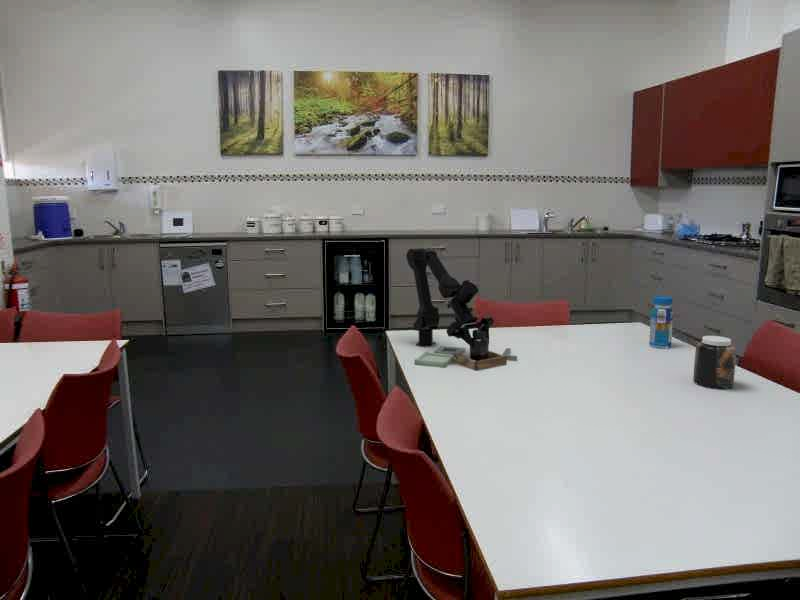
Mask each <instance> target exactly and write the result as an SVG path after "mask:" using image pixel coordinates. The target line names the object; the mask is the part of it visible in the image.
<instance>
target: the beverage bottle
mask: <svg viewBox="0 0 800 600" xmlns="http://www.w3.org/2000/svg"><path fill="white" fill-rule="evenodd" d="M653 305H654V307H653V308H652V310H651V311H650V314H651V317H650V319H649V320H650V321H649V322H650V325H649V327H650V329H649V342H648V344H649V346H650V347H651V346H653V347H652V348H654V347H662V348H661V349H667V348H666V347H670V348H671V347H672V336H673V325H674V319H673V316H674V311H673V309H672V308H671V307H672V305H673V297H672V296H669V295H655V296H654V298H653Z"/></svg>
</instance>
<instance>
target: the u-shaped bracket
mask: <svg viewBox="0 0 800 600" xmlns="http://www.w3.org/2000/svg"><path fill="white" fill-rule="evenodd" d="M507 361H508V360H507V356H504V355H502V354H501V353H497V352H494V351H491V350H489V359H485V360H480V361H475V360H472V359H470V357H466V356H463V355H458V354H457V355H455V358H454V363H455V364H458V365H460V366H463V367H466V368H469V369H471V370H473V369H474V371H476V370H477V371H480V369H482V370H485V369H491V368H496V367H499V366H501V367H502V366H505V365H507V363H508V362H507Z"/></svg>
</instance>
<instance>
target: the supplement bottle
mask: <svg viewBox="0 0 800 600" xmlns="http://www.w3.org/2000/svg"><path fill="white" fill-rule="evenodd" d="M471 333H472V335H471V338H472V340H473V343H474V347H473V348H472V347H471V346H470V345H469V359H472V360H475V361H480V360H485V359H489V351H490V350H489V345H490V340H489V341H488V339H487V338H486V337H485V336H486V331H485V330H478V329H473V330H472V332H471Z"/></svg>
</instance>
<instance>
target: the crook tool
mask: <svg viewBox="0 0 800 600" xmlns="http://www.w3.org/2000/svg"><path fill="white" fill-rule="evenodd" d="M511 353H512V350H511V348H510V347H509V348H505V349H504V351H503V352H502V354H501V355H504V356H507V361H511V362H517V361H518V355H510V354H511Z"/></svg>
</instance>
